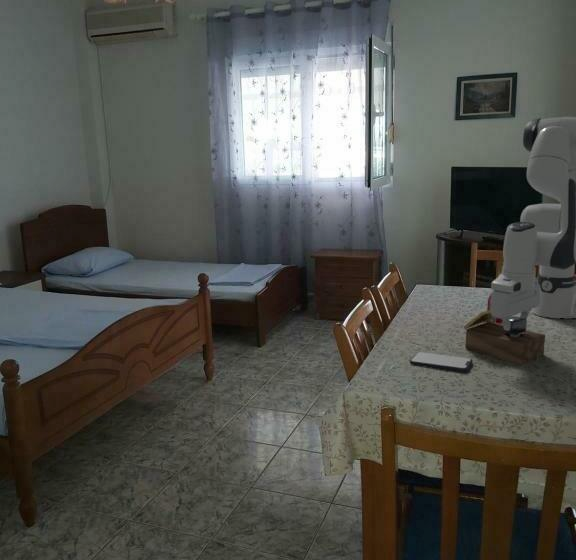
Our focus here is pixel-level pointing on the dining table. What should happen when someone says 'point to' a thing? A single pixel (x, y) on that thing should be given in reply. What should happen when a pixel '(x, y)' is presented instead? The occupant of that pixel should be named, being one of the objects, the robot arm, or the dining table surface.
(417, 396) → the dining table surface
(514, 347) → the block
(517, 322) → the dark grey knob
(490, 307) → the soda can
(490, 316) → the tan flat lid
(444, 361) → the smartphone
